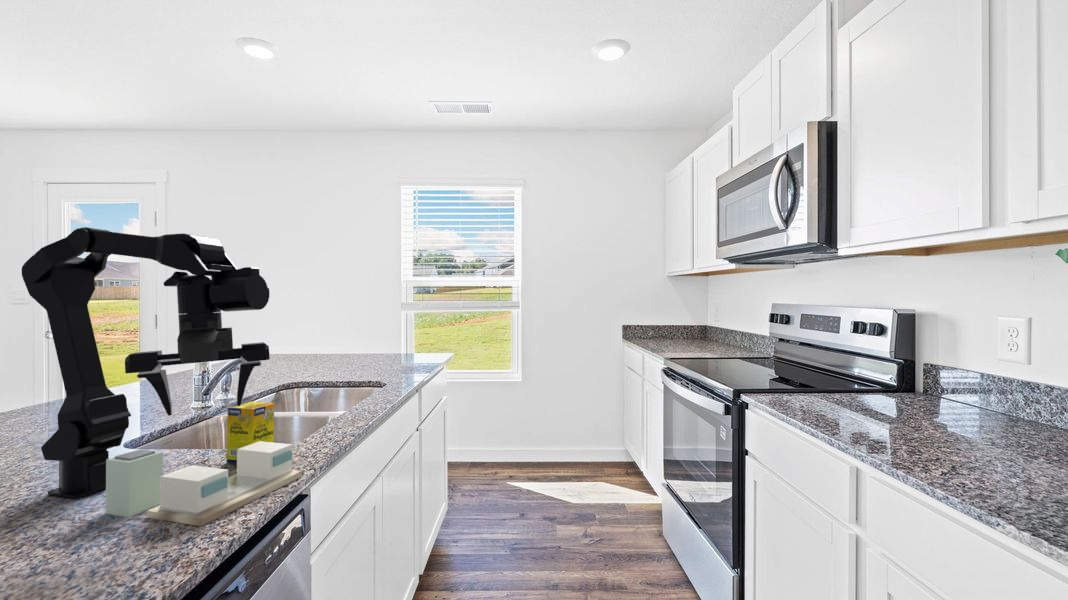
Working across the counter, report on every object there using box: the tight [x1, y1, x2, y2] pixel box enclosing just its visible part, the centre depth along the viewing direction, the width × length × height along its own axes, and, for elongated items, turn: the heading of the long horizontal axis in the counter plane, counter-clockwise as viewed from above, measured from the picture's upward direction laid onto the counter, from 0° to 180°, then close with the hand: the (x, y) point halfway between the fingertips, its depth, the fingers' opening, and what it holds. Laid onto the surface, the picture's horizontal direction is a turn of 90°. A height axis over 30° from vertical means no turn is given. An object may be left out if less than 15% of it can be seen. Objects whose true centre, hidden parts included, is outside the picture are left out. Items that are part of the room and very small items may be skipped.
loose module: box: [105, 449, 164, 518], centre depth 75 cm, size 4×5×8 cm
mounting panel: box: [146, 469, 303, 527], centre depth 80 cm, size 10×20×1 cm, turn 166°
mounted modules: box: [159, 441, 293, 513], centre depth 80 cm, size 7×18×4 cm, turn 166°
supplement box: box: [226, 401, 275, 465], centre depth 97 cm, size 6×6×11 cm
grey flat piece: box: [158, 468, 294, 516], centre depth 80 cm, size 7×19×1 cm, turn 166°
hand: (205, 410), depth 79 cm, fingers open, 9 cm apart
